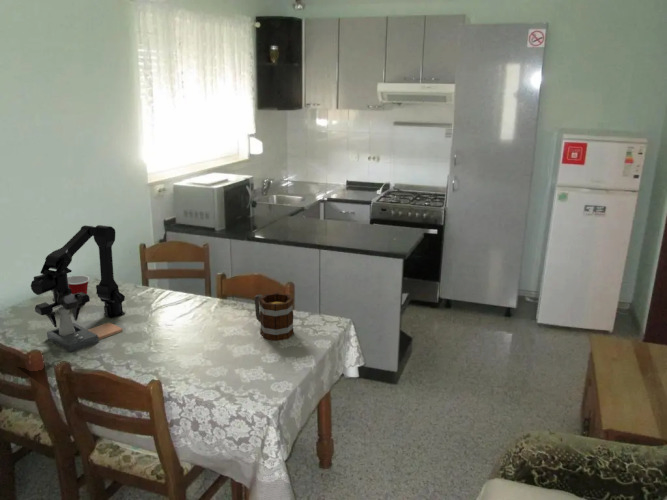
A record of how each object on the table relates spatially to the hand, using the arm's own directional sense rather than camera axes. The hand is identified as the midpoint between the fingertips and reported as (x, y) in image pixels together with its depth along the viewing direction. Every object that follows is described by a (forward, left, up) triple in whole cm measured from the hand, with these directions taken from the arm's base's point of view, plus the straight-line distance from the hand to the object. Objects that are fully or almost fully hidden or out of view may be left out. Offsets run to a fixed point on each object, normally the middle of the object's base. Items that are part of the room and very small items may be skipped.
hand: (65, 323), depth 212 cm
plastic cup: (-21, -31, -6) cm, 38 cm away
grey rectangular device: (0, +4, -6) cm, 7 cm away
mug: (-55, +58, -6) cm, 80 cm away
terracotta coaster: (-12, +6, -6) cm, 15 cm away
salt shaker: (0, 0, -6) cm, 6 cm away
